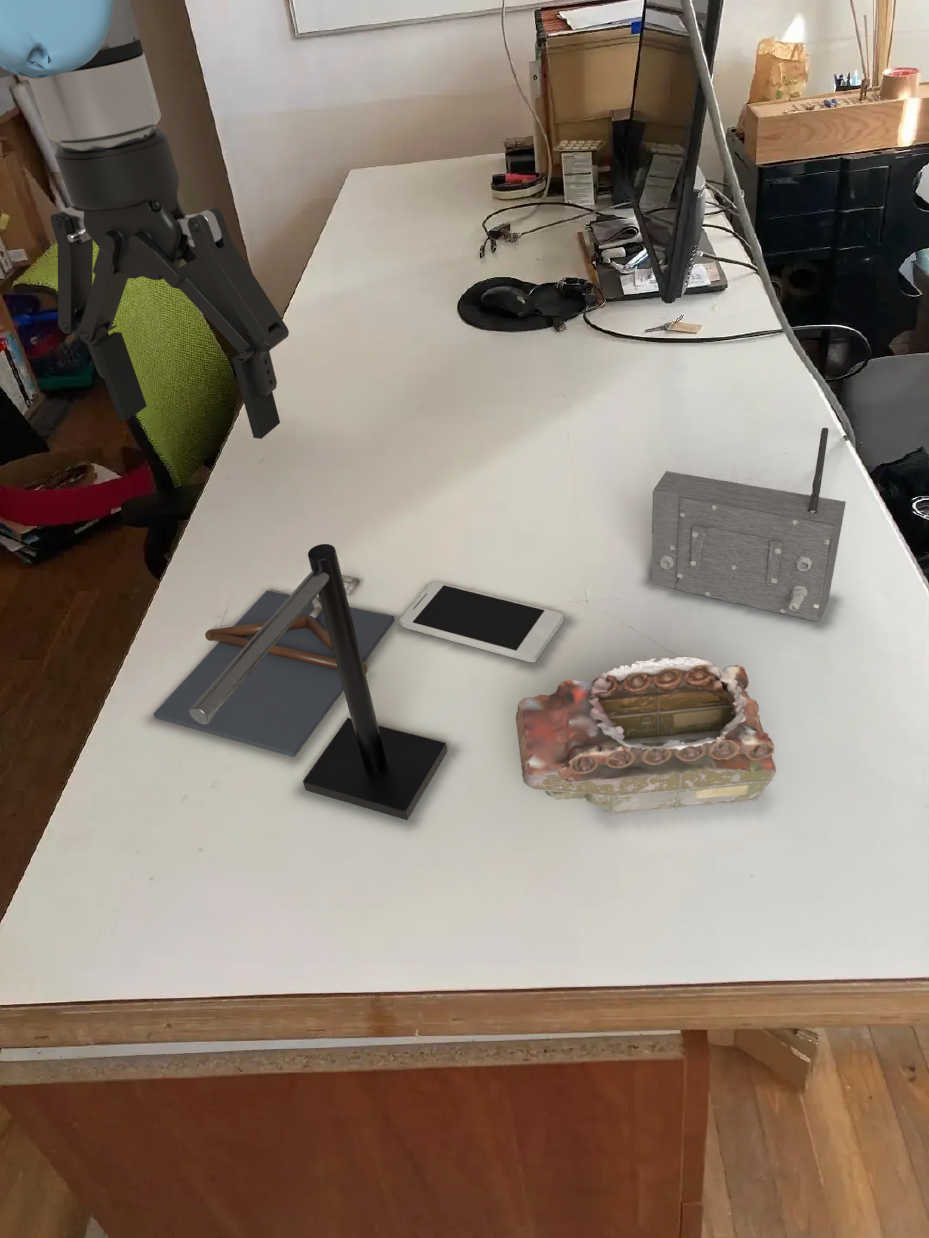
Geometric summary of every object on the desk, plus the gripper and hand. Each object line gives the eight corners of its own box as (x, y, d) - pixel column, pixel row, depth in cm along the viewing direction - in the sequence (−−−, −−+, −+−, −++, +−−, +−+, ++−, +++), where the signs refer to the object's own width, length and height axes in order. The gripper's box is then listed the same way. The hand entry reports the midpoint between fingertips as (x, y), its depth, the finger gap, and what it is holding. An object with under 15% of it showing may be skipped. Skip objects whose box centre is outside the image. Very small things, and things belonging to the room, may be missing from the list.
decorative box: (783, 864, 70) (799, 779, 63) (517, 865, 72) (507, 783, 66) (755, 735, 80) (765, 651, 73) (522, 740, 82) (513, 659, 76)
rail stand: (350, 726, 86) (292, 512, 71) (447, 751, 82) (408, 530, 67) (228, 899, 73) (126, 680, 58) (338, 938, 69) (259, 716, 54)
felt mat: (155, 718, 90) (152, 713, 89) (268, 594, 103) (266, 590, 103) (294, 757, 84) (292, 752, 83) (395, 620, 97) (394, 616, 97)
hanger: (201, 633, 96) (272, 558, 105) (204, 642, 97) (274, 567, 106) (362, 670, 89) (423, 587, 98) (364, 679, 90) (425, 596, 99)
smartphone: (534, 664, 89) (534, 656, 89) (399, 626, 96) (397, 619, 95) (564, 619, 94) (564, 612, 93) (433, 587, 101) (432, 580, 100)
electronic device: (829, 598, 92) (861, 416, 80) (812, 639, 88) (844, 454, 75) (660, 562, 100) (665, 390, 87) (638, 598, 95) (639, 424, 83)
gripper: (294, 119, 60) (352, 415, 74) (14, 125, 70) (111, 387, 83) (227, 149, 55) (302, 462, 69) (-65, 151, 65) (51, 426, 78)
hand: (198, 422), depth 76 cm, fingers open, 13 cm apart
